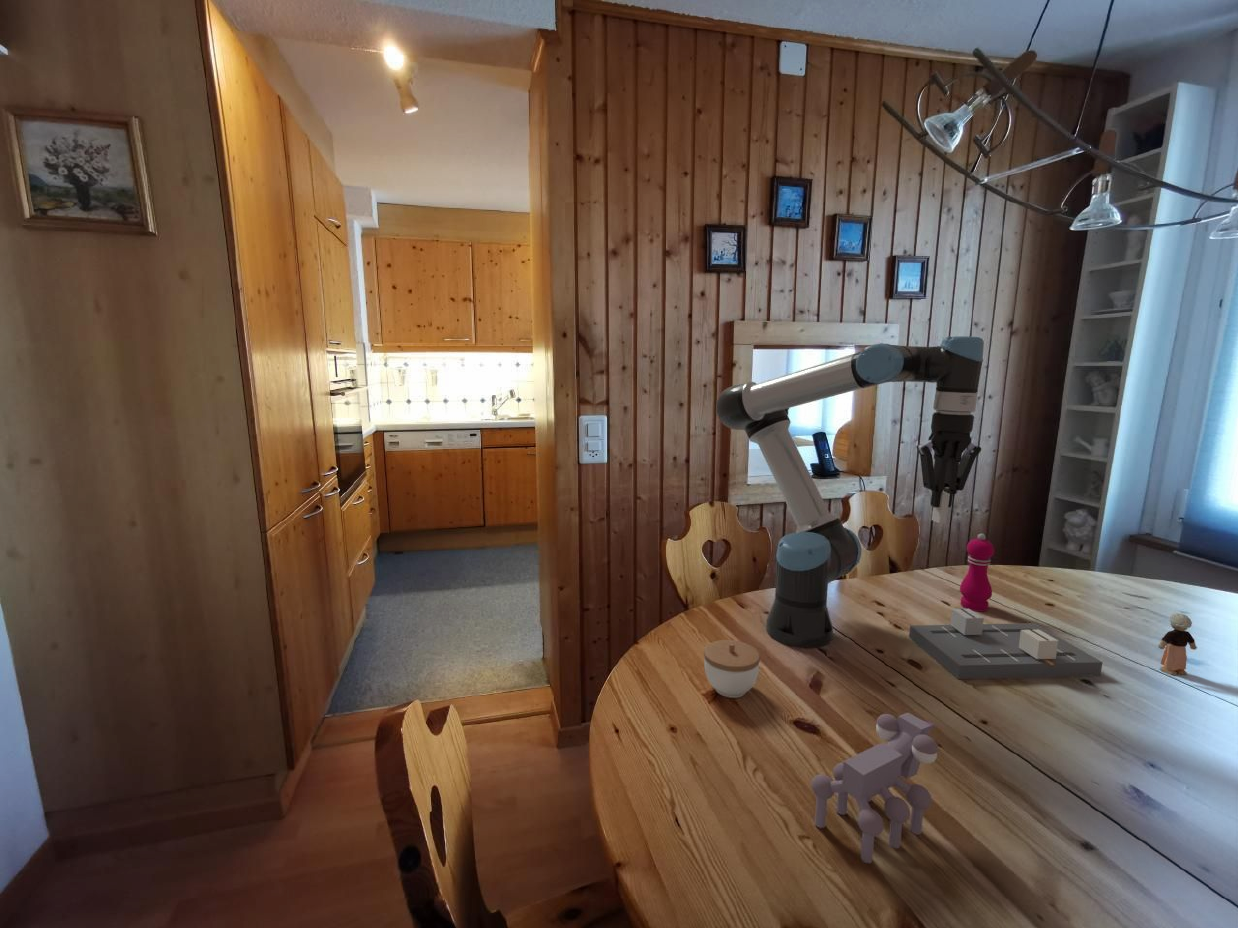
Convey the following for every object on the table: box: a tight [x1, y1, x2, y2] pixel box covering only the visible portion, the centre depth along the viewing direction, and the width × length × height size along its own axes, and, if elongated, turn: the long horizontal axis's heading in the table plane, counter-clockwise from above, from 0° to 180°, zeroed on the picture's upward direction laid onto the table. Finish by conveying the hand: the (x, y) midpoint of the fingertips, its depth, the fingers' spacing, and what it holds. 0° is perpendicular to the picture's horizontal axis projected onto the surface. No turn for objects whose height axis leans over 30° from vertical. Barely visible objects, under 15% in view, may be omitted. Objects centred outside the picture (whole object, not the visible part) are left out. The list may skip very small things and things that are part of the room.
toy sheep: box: [811, 712, 939, 864], centre depth 77 cm, size 20×11×14 cm, turn 119°
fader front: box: [1019, 630, 1058, 659], centre depth 117 cm, size 4×5×4 cm
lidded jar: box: [703, 639, 761, 699], centre depth 109 cm, size 11×11×9 cm
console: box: [908, 622, 1103, 680], centre depth 123 cm, size 30×18×3 cm, turn 92°
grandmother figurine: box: [1157, 612, 1198, 676], centre depth 115 cm, size 8×4×13 cm, turn 104°
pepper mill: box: [959, 533, 995, 612], centre depth 147 cm, size 7×7×20 cm
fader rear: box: [950, 608, 984, 635], centre depth 127 cm, size 4×5×4 cm
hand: (938, 521), depth 121 cm, fingers closed
